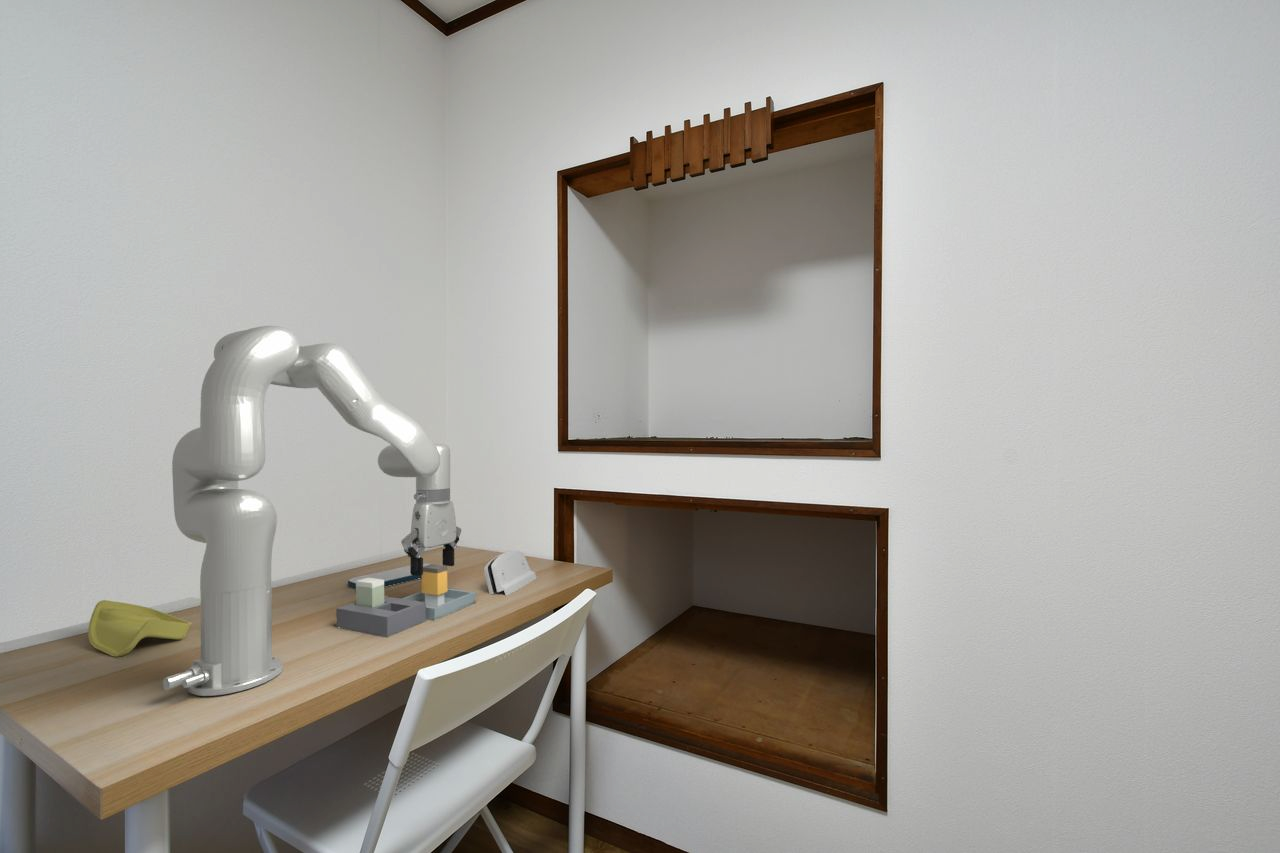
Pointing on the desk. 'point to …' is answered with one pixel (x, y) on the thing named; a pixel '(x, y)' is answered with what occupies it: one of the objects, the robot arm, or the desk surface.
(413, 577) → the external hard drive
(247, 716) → the desk surface
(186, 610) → the desk surface
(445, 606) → the parts tray
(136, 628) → the plastic component
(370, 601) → the block
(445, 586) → the block
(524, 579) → the grey slotted holder
